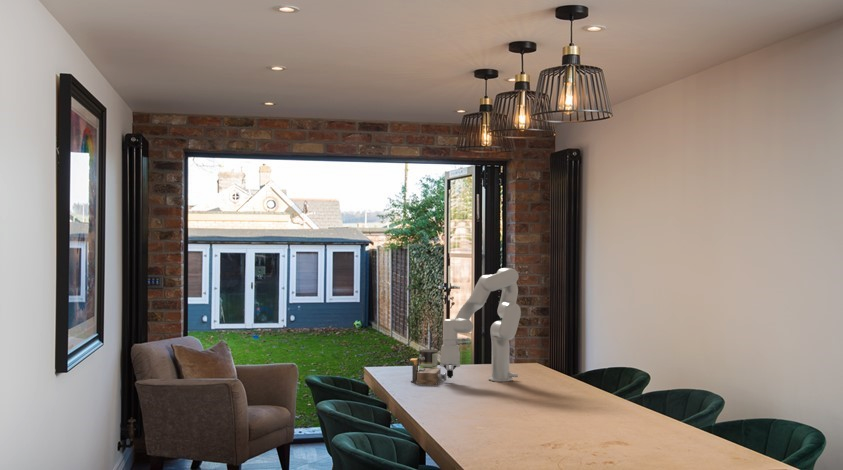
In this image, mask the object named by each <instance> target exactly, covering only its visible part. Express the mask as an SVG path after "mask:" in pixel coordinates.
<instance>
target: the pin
mask: <svg viewBox="0 0 843 470" xmlns="http://www.w3.org/2000/svg"><path fill="white" fill-rule="evenodd" d="M447 378H448V376H447V372H444V373H440V374H438V379H440V380H443V381H447Z"/></svg>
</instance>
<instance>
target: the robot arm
mask: <svg viewBox="0 0 843 470" xmlns="http://www.w3.org/2000/svg"><path fill="white" fill-rule="evenodd" d="M518 280H519V272H518V271H517V270H516V269H514V268H511V267H503V268H499V269H498V270H497V271H496V273H494V274H484V275H481V276H480V277H479V279H478V281H477V282H476V284H475V286H474V288H473V290H472V292H471V294H470V296H469V298H468V299H467V300H466V302H465V303H464V304H463V305H462V306H461V308H460V309H459V311H458V312H457V314H456V316H455V318H454V319H453V318H447V319H446V318H445V319H444V320H443V322H442V323H443V324H442V332H443V333H442V345H441V348H440V358H439V359H440V360H439V361H440V363H439V366H440V367H442V368H444V369H445V370H446V375H447V378H448V379H452V378H453V377H454V370H455V369H456V368H459V367H461V351H460V345H458V344H461V340H458V333H460V334H470V333H471V332H472V331H473V330H474V323H473V321H472V320H470V319H471V317H473V315H474V314H475V313H476V312H477V311H478V310H480V309H481V308H483V307H484V305H485V304H486V301H487V300H488V298H489V296H490V295H491V292H495V291H498V290H501V296H500V300H499V302H498V307H497V315H498V316H499V318H501V320H496V321H494V322H493V323H492V324H491V326H490V330H489V331H490V339H491V341H490V342H491V376H489V377H488V380H489V381H491V382H500V383H505V382H512V381H513V378H519V373H512V372H511V371H510V348H511V347H510V341H511V340H512V339H513V338H515V336H516V334H517V330H518V327H519V323H520V319H521V316H522V315H521V314H522V311H521V307H520V305H519V304H518V303H517V300H518V295H519V294H518V293H519V287H518V284H517V281H518ZM449 365H450V366H449Z"/></svg>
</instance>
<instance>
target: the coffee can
mask: <svg viewBox="0 0 843 470" xmlns="http://www.w3.org/2000/svg"><path fill="white" fill-rule="evenodd" d="M418 352H419V353H418V354H419V357H418V359H419V361H418V370H419V369H420V368H438V350H437V349H431V348H430V349H429V348H428V349H419V350H418Z"/></svg>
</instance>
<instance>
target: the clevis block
mask: <svg viewBox="0 0 843 470" xmlns="http://www.w3.org/2000/svg"><path fill="white" fill-rule="evenodd" d="M411 368H412V373H411V374H412V379H411V381H410V383H411V382H412V383H414V384H416V385H426V386H427V385H428V386H437V385H438V383H439V382H440V381H441V379H438V374H442V373H441V371H442V370H441V368H440V367H437V368H420V369H419V362H417V370H416V365H414V364H413V365H412V367H411Z"/></svg>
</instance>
